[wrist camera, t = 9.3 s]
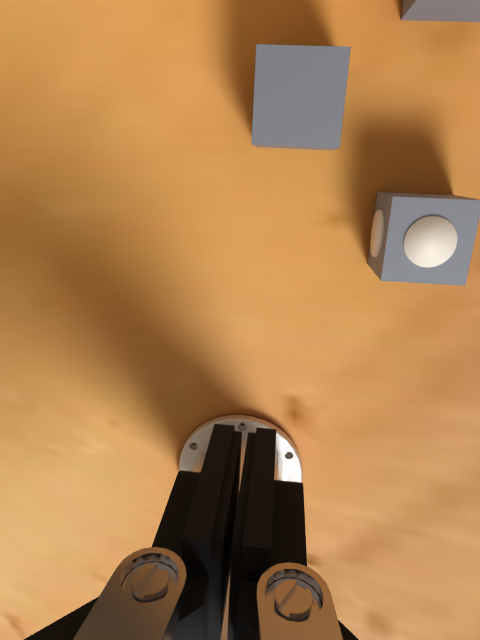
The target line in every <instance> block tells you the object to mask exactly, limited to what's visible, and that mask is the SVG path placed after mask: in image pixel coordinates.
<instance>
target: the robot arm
mask: <svg viewBox="0 0 480 640" xmlns="http://www.w3.org/2000/svg"><path fill="white" fill-rule="evenodd" d="M242 423H244V424H242ZM24 640H358V639H357V638H356V637H355V636H354V635H353V634H352V633H351V632H350V631H349V630H348V629H347V628H346V627H345V626H344V625H343V624H342V623H341V622H340V621H339V620H338V619H337V615H336V611H335V607H334V604H333V600H332V596H331V593H330V590H329V588H328V586H327V584H326V582H325V581H324V580H323V579H322V577H321V576H320V575H319V574H318V573H316V572H315V571H314V570H312V569H311V568H309V567H307V557H306V536H305V514H304V493H303V483H302V464H301V458H300V455H299V453H298V450H297V448H296V447H295V445H294V443H293V442H292V440H291V439H290V438H289V437H288V436H287V435H286V434H285V433H284V432H283V431H282V430H280V429H279V428H278V427H276V426H275V425H273V424H271V423H269V422H267V421H265V420H263V419H259V418H256V417H253V416H246V415H227V416H222V417H217V418H215V419H212V420H210V421H207V422H206V423H204V424H203V425H201V426H199V427H198V428H197V429H196V430H195V431H194V432H193V433H192V434H191V435H190V436H189V438H188V439H187V441H186V443H185V445H184V447H183V450H182V452H181V456H180V460H179V472H178V475H177V477H176V480H175V483H174V486H173V489H172V491H171V494H170V497H169V500H168V503H167V505H166V508H165V511H164V514H163V517H162V520H161V522H160V525H159V528H158V531H157V534H156V536H155V539H154V542H153V545H152V547H151V548H144V549H141V550H138V551H136V552H133V553H132V554H130V555H129V556H128V557H126V558H125V559H123V561H122V562H121V563H120V564H119V566H118V567H117V568H116V570H115V571H114V573H113V575H112V576H111V578H110V580H109V581H108V583H107V585H106V586H105V588H104V589H103V591H102V593H101V594H100V596H99V597H97V598H96V599H94V600H92V601H90V602H89V603H87V604H85V605H83V606H82V607H80V608H78V609H76V610H75V611H73V612H71V613H69V614H68V615H66V616H64V617H62V618H61V619H59V620H57V621H55V622H54V623H52V624H50V625H48V626H47V627H45V628H43V629H42V630H40V631H38V632H36V633H35V634H33V635H31V636H29V637H28V638H26V639H24Z"/></svg>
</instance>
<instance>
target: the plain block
mask: <svg viewBox="0 0 480 640" xmlns="http://www.w3.org/2000/svg"><path fill="white" fill-rule="evenodd" d="M350 49H351V47H340V46H303V45H266V44H256V62H255V82H254V103H253V123H252V143H251V144H252V145H254V146H256V147H270V148H292V149H314V150H334V149H338V148H340V140H341V131H342V122H343V113H344V104H345V95H346V86H347V76H348V67H349V58H350Z"/></svg>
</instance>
